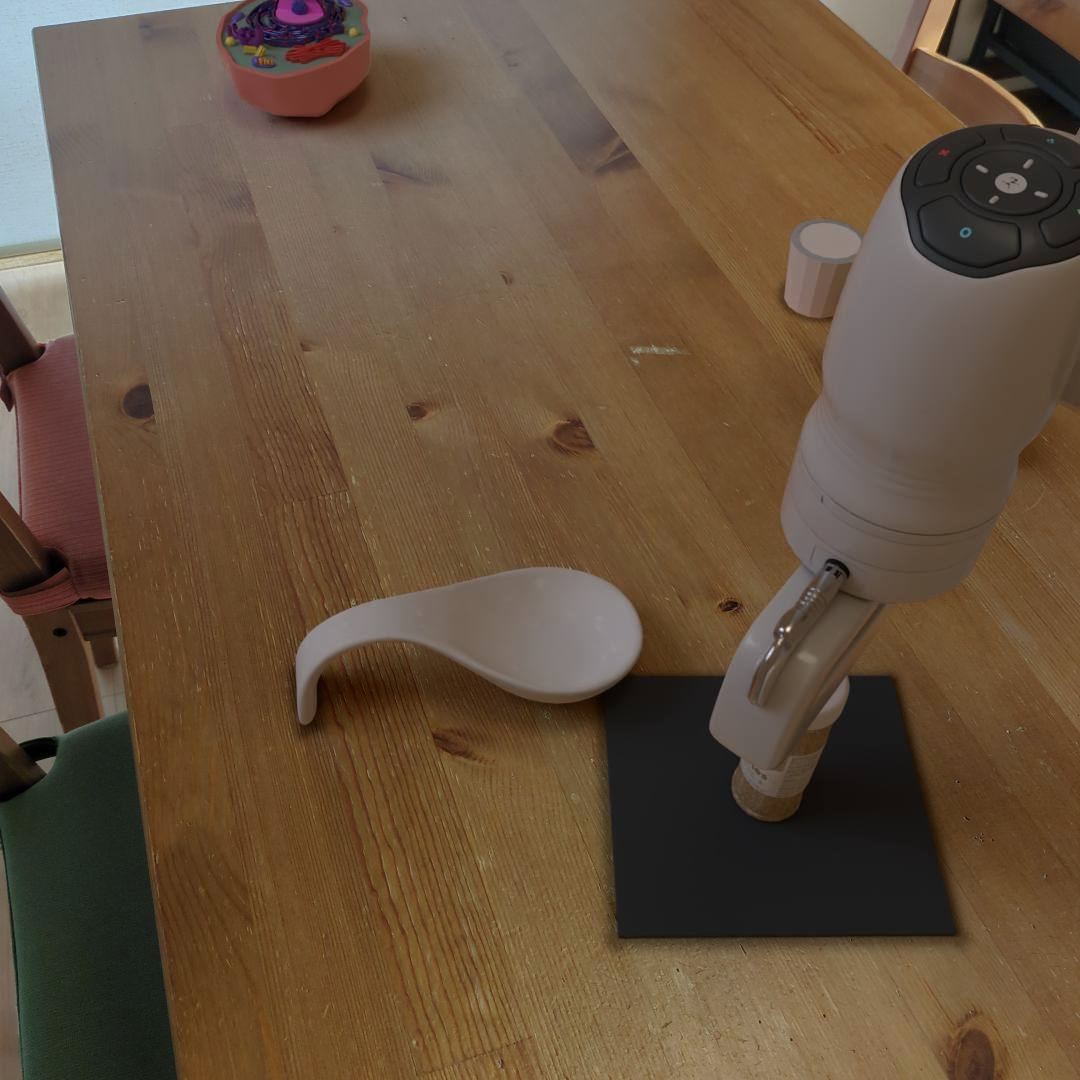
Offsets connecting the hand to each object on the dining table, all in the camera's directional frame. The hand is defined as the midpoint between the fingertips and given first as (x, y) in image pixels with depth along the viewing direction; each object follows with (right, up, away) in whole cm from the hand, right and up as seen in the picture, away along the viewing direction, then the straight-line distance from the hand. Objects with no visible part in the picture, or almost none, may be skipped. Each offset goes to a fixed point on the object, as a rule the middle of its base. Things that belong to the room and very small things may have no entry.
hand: (820, 674), depth 59 cm
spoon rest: (-20, -2, +17) cm, 26 cm away
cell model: (-42, +57, +67) cm, 98 cm away
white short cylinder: (+11, +29, +45) cm, 55 cm away
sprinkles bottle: (-1, -9, +12) cm, 15 cm away
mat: (-1, -10, +12) cm, 16 cm away
